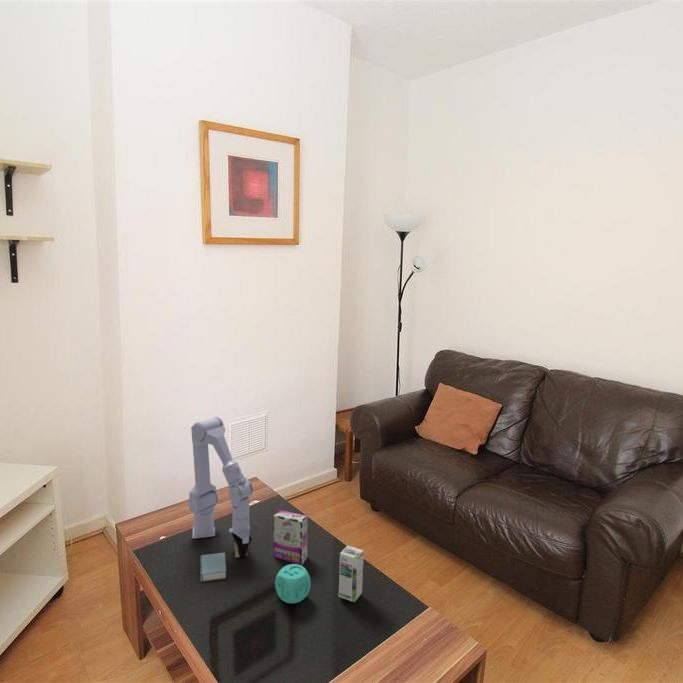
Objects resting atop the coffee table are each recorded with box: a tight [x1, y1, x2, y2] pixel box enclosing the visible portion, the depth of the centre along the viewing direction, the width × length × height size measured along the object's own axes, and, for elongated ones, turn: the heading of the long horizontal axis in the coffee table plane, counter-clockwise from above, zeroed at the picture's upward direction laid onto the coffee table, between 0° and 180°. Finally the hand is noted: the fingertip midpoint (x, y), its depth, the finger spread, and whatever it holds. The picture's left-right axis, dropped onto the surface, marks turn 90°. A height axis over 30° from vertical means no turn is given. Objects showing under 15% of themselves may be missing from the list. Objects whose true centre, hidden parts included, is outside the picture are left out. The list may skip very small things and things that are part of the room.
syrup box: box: [338, 545, 364, 603], centre depth 150 cm, size 6×6×14 cm
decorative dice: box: [274, 563, 312, 604], centre depth 149 cm, size 8×8×8 cm
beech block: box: [234, 542, 248, 558], centre depth 169 cm, size 4×4×5 cm
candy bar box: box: [272, 509, 309, 566], centre depth 167 cm, size 11×5×16 cm, turn 68°
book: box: [199, 552, 227, 583], centre depth 161 cm, size 11×8×3 cm
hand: (240, 552), depth 170 cm, fingers closed on beech block, 4 cm apart
